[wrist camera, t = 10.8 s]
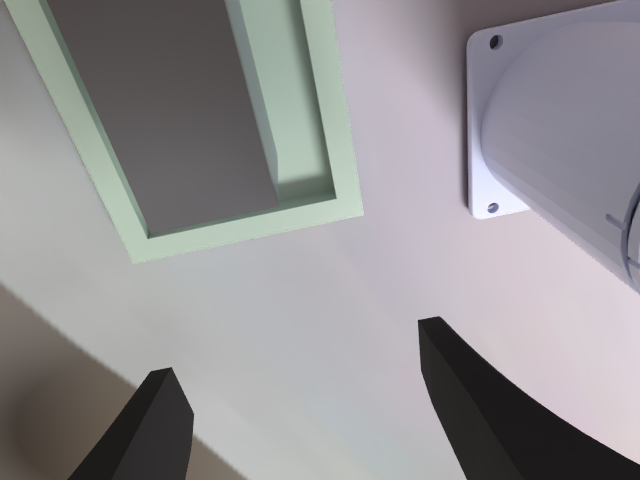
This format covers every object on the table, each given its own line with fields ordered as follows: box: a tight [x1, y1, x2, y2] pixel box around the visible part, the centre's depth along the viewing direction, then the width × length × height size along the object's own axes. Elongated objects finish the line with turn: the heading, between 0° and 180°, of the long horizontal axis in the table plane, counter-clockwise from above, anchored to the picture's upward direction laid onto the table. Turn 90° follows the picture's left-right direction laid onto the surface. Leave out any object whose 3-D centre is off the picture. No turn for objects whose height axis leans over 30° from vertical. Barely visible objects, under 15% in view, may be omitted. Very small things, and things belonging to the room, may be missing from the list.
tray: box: [4, 0, 364, 264], centre depth 15 cm, size 10×12×2 cm
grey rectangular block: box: [46, 0, 279, 234], centre depth 13 cm, size 4×7×5 cm, turn 10°
